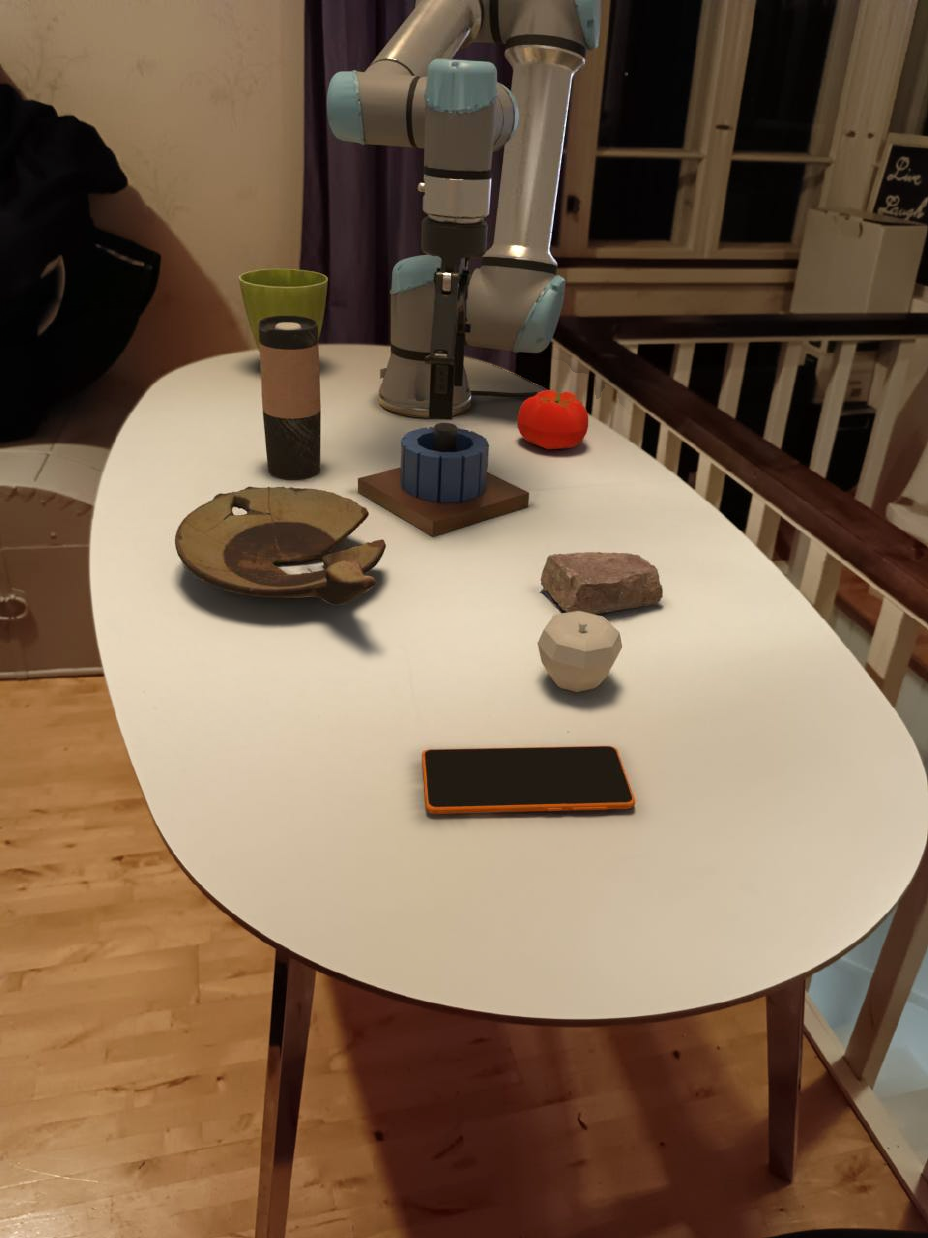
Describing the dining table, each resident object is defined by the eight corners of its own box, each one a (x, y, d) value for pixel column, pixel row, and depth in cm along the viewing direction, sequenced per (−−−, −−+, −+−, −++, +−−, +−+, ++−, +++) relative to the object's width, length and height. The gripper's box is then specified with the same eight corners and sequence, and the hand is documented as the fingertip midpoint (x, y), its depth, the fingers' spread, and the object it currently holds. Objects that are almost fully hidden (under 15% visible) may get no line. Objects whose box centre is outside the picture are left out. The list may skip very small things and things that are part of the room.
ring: (449, 463, 131) (451, 421, 128) (502, 490, 124) (506, 446, 121) (384, 480, 125) (384, 436, 122) (436, 509, 118) (438, 464, 115)
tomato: (550, 462, 139) (555, 412, 135) (501, 438, 146) (505, 391, 142) (601, 448, 145) (608, 400, 141) (552, 426, 152) (557, 380, 148)
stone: (625, 570, 111) (631, 533, 109) (667, 609, 104) (675, 571, 102) (534, 583, 107) (538, 546, 104) (571, 625, 100) (577, 586, 97)
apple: (570, 649, 96) (577, 592, 92) (633, 683, 91) (643, 625, 88) (516, 678, 91) (522, 619, 88) (580, 716, 86) (588, 656, 83)
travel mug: (327, 461, 135) (324, 317, 124) (314, 482, 128) (310, 332, 118) (274, 457, 135) (266, 312, 125) (259, 477, 129) (249, 327, 118)
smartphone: (421, 755, 80) (421, 747, 80) (614, 752, 82) (616, 744, 82) (426, 817, 74) (426, 809, 73) (636, 812, 76) (638, 804, 75)
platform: (451, 467, 135) (454, 398, 130) (528, 506, 125) (535, 433, 120) (357, 492, 126) (357, 419, 121) (432, 536, 116) (435, 459, 111)
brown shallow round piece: (361, 517, 120) (361, 459, 116) (416, 644, 95) (418, 576, 91) (176, 530, 114) (169, 470, 110) (184, 668, 89) (175, 597, 85)
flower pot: (227, 368, 169) (220, 274, 161) (291, 353, 179) (287, 264, 171) (283, 388, 161) (278, 291, 153) (347, 371, 171) (346, 279, 163)
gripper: (434, 201, 119) (428, 370, 130) (407, 231, 97) (402, 431, 108) (494, 205, 118) (483, 374, 129) (480, 236, 97) (468, 436, 108)
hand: (446, 400), depth 119 cm, fingers open, 13 cm apart
